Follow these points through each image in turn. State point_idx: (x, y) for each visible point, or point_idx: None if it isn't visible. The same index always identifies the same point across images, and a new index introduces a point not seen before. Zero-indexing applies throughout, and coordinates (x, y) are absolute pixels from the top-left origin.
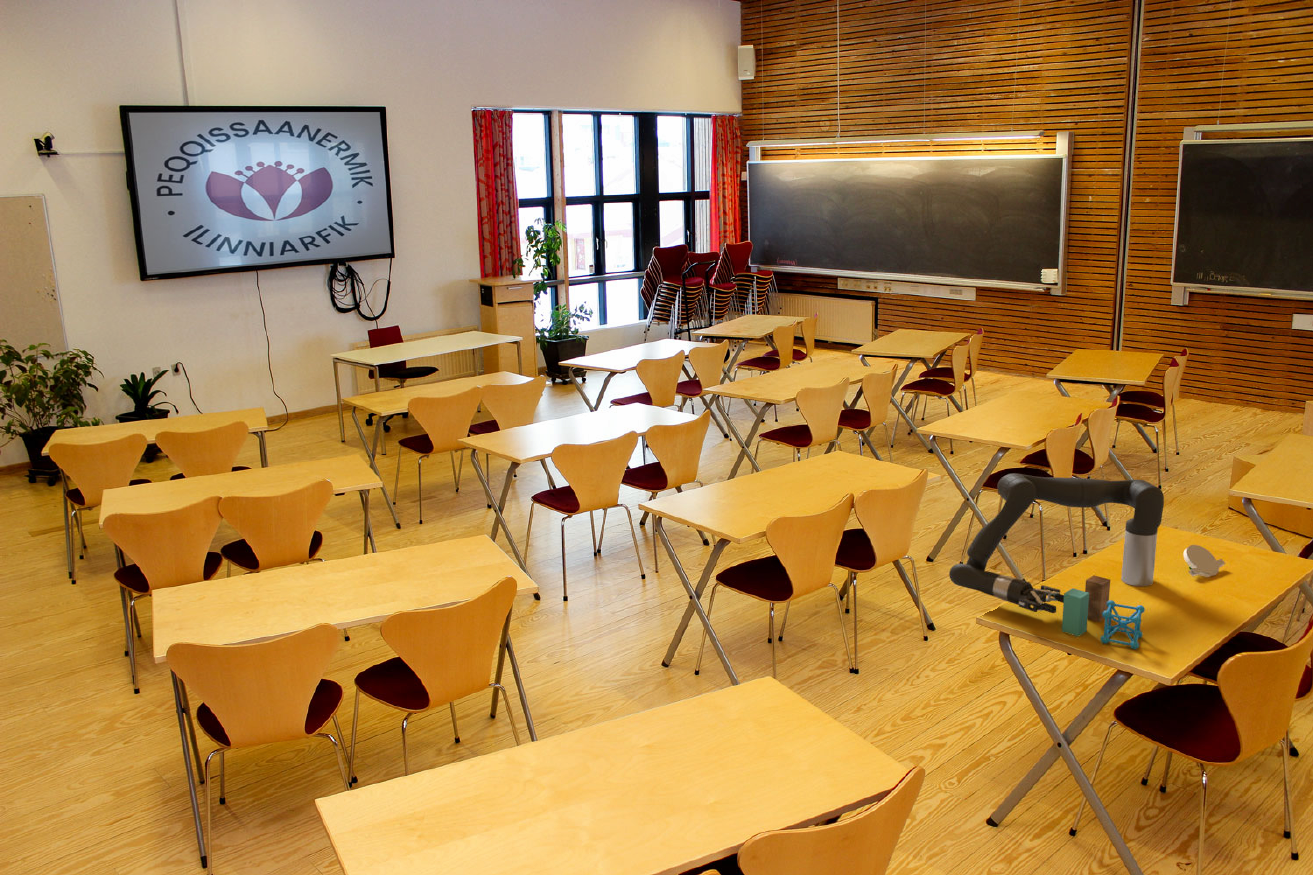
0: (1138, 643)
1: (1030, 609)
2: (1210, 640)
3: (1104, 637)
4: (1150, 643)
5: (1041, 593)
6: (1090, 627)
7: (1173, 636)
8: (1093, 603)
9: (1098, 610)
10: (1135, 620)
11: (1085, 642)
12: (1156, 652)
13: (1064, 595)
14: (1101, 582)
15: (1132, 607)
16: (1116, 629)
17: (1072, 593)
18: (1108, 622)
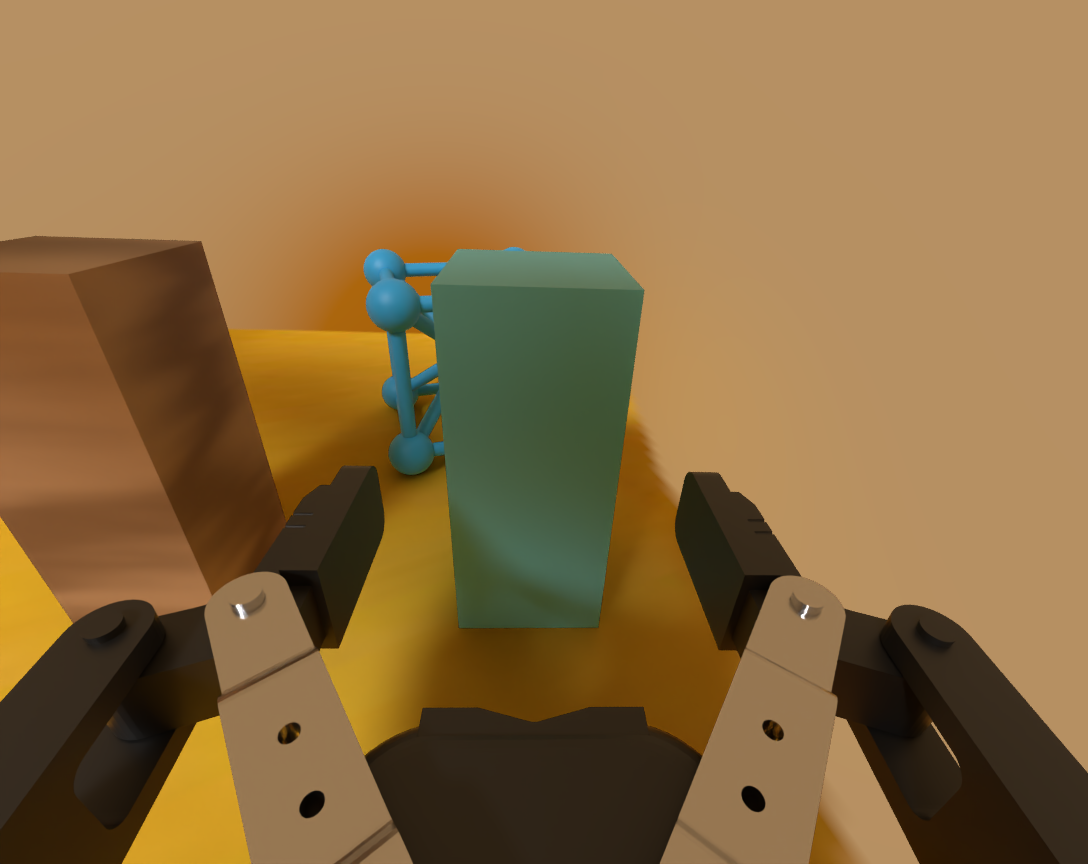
0: None
1: (959, 782)
2: (311, 332)
3: None
4: (432, 383)
5: (426, 823)
6: (405, 536)
7: (327, 366)
8: (224, 459)
9: (262, 472)
10: None
11: (617, 491)
12: None
13: (640, 314)
14: (136, 245)
15: (392, 273)
16: None
17: (575, 273)
18: (412, 421)
